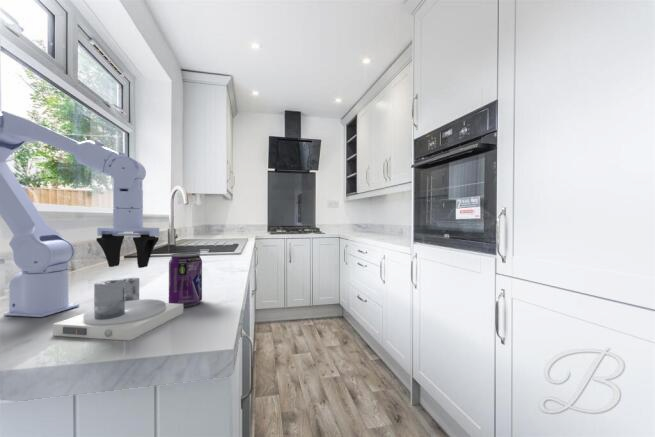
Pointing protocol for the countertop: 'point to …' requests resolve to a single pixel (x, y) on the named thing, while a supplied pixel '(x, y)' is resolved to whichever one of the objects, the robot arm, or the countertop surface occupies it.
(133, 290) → the steel spacer
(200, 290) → the beverage can
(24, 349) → the countertop surface
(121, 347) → the countertop surface
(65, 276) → the robot arm
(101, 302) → the steel spacer
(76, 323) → the kitchen scale
